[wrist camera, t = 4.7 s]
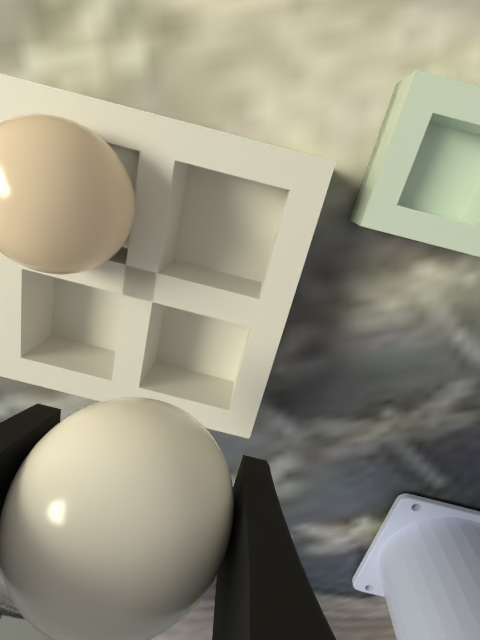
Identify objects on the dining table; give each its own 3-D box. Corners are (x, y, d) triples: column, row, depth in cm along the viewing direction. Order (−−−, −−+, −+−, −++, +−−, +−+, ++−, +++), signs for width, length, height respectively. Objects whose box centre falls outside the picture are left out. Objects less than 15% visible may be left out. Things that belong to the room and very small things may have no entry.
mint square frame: (526, 118, 14) (566, 109, 12) (463, 249, 15) (490, 259, 14) (396, 84, 13) (416, 69, 12) (349, 219, 15) (360, 225, 13)
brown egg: (162, 143, 13) (106, 126, 9) (144, 270, 15) (89, 311, 10) (31, 109, 13) (-93, 75, 9) (29, 241, 15) (-76, 268, 10)
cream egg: (262, 388, 10) (252, 572, 5) (220, 515, 11) (186, 735, 7) (83, 340, 9) (-86, 486, 5) (69, 477, 11) (-64, 673, 7)
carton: (324, 164, 15) (336, 161, 12) (252, 400, 19) (249, 438, 16) (42, 90, 15) (-13, 70, 12) (34, 345, 19) (-7, 374, 16)
